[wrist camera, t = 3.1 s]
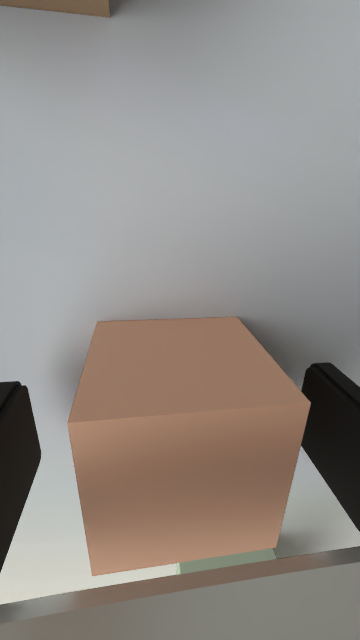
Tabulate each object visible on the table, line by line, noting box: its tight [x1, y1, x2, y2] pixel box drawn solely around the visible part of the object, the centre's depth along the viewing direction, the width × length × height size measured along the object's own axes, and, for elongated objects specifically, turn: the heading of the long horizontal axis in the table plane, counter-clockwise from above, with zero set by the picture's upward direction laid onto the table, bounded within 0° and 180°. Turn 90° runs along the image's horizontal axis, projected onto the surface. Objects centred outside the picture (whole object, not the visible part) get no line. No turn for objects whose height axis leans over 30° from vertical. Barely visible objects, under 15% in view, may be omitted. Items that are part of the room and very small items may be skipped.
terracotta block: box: [67, 317, 311, 576], centre depth 9 cm, size 5×5×5 cm
